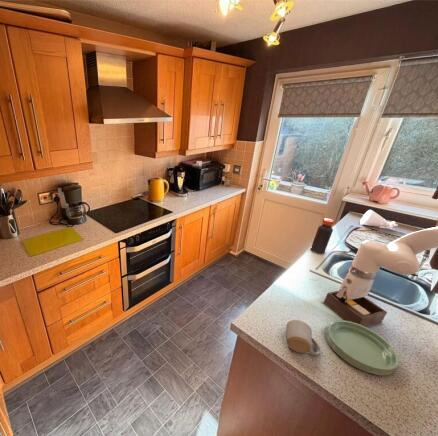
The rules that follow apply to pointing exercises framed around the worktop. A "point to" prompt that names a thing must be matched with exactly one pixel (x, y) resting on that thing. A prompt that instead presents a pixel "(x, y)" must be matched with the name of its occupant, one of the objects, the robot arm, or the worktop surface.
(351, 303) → the orange block
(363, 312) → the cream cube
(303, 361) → the worktop surface
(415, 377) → the worktop surface
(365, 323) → the holder
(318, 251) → the bottle
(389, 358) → the plate
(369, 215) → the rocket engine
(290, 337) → the ceramic mug
